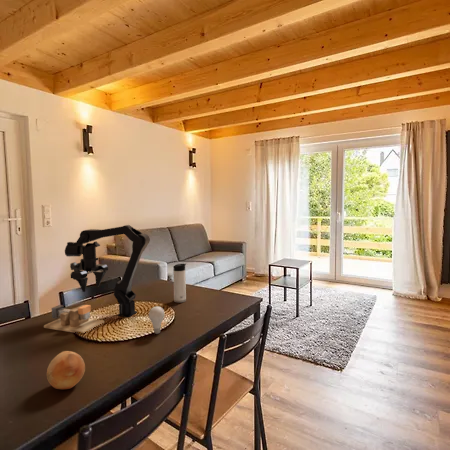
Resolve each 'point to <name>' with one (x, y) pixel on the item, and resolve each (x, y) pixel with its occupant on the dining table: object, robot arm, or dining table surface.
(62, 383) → the onion
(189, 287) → the dining table surface
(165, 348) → the dining table surface
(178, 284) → the travel mug
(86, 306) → the block
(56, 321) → the bearing stand
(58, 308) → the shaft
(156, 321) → the lightbulb
